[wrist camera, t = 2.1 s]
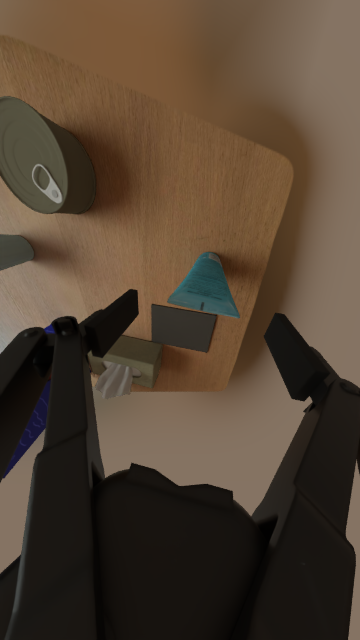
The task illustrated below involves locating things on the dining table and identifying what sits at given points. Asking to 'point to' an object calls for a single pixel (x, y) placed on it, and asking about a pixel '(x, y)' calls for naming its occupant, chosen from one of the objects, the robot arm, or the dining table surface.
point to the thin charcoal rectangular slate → (182, 327)
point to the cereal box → (33, 422)
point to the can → (43, 161)
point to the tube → (206, 288)
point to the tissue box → (127, 366)
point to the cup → (14, 251)
